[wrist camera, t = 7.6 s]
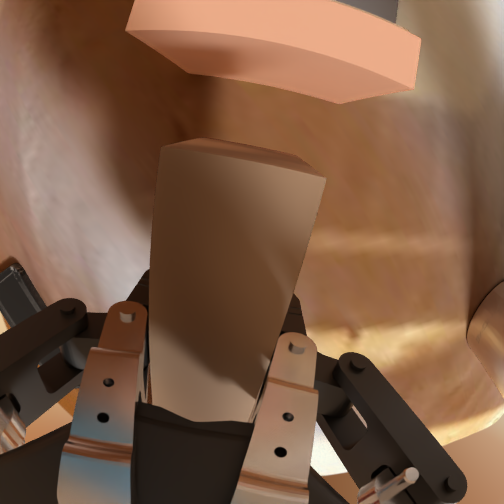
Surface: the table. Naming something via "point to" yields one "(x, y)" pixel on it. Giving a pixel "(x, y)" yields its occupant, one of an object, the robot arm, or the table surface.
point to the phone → (20, 300)
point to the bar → (223, 271)
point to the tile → (283, 44)
